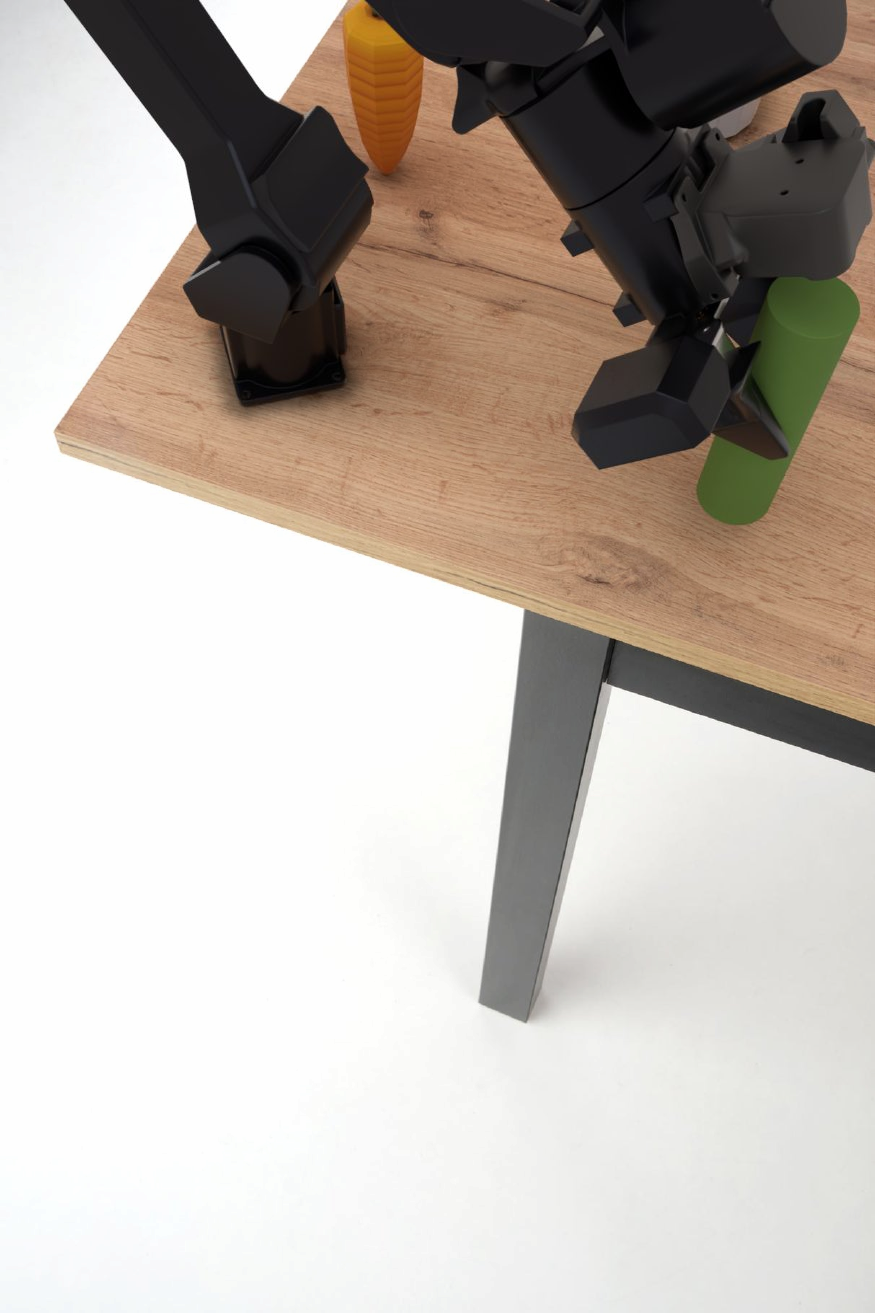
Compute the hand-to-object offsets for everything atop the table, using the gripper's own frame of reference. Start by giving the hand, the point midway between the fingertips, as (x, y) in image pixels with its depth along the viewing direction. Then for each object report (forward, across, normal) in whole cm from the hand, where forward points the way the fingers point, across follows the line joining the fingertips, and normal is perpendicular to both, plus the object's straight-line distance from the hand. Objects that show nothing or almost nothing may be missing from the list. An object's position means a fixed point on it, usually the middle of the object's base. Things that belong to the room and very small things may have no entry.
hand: (794, 424), depth 56 cm
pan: (-4, +33, +18) cm, 38 cm away
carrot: (-15, +17, +29) cm, 36 cm away
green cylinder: (+4, 0, +6) cm, 7 cm away
